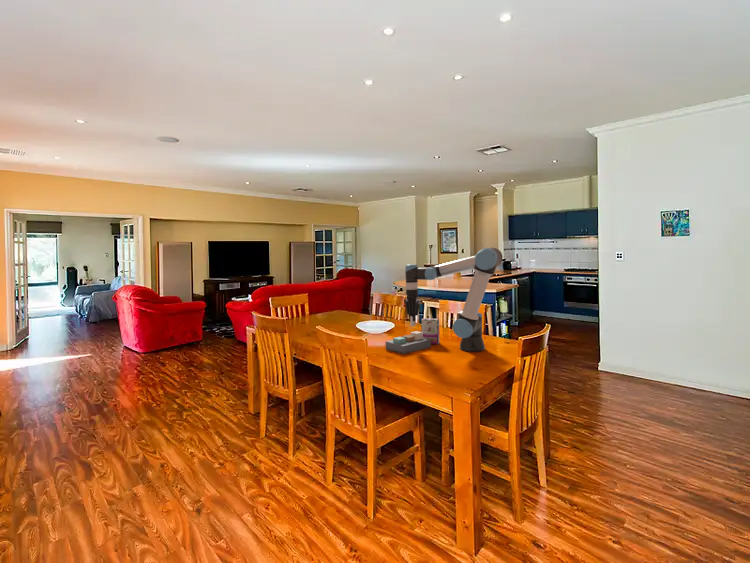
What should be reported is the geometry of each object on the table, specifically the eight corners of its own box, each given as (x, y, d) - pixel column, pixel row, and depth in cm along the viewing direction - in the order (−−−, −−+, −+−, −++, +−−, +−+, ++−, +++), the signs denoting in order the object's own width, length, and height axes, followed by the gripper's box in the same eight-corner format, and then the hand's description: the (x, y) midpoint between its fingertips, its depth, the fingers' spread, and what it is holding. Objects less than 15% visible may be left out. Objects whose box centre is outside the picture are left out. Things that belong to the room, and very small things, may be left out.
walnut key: (414, 343, 255) (414, 336, 254) (408, 344, 251) (408, 337, 251) (408, 341, 259) (408, 334, 259) (402, 343, 256) (402, 336, 255)
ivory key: (422, 339, 259) (422, 332, 259) (416, 340, 256) (416, 333, 255) (416, 337, 264) (416, 331, 263) (410, 339, 260) (410, 332, 260)
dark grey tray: (430, 347, 257) (430, 339, 256) (402, 354, 242) (402, 346, 241) (413, 342, 269) (413, 335, 269) (385, 349, 254) (385, 341, 254)
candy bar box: (439, 342, 267) (439, 318, 265) (438, 344, 262) (437, 319, 261) (423, 341, 271) (422, 317, 269) (421, 343, 266) (421, 319, 264)
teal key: (405, 345, 250) (405, 338, 250) (399, 346, 247) (399, 339, 246) (399, 343, 254) (399, 336, 254) (393, 345, 251) (393, 338, 251)
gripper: (423, 289, 251) (424, 326, 253) (408, 287, 261) (409, 323, 263) (415, 290, 246) (416, 328, 248) (400, 288, 256) (401, 325, 258)
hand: (412, 325), depth 256 cm, fingers closed
